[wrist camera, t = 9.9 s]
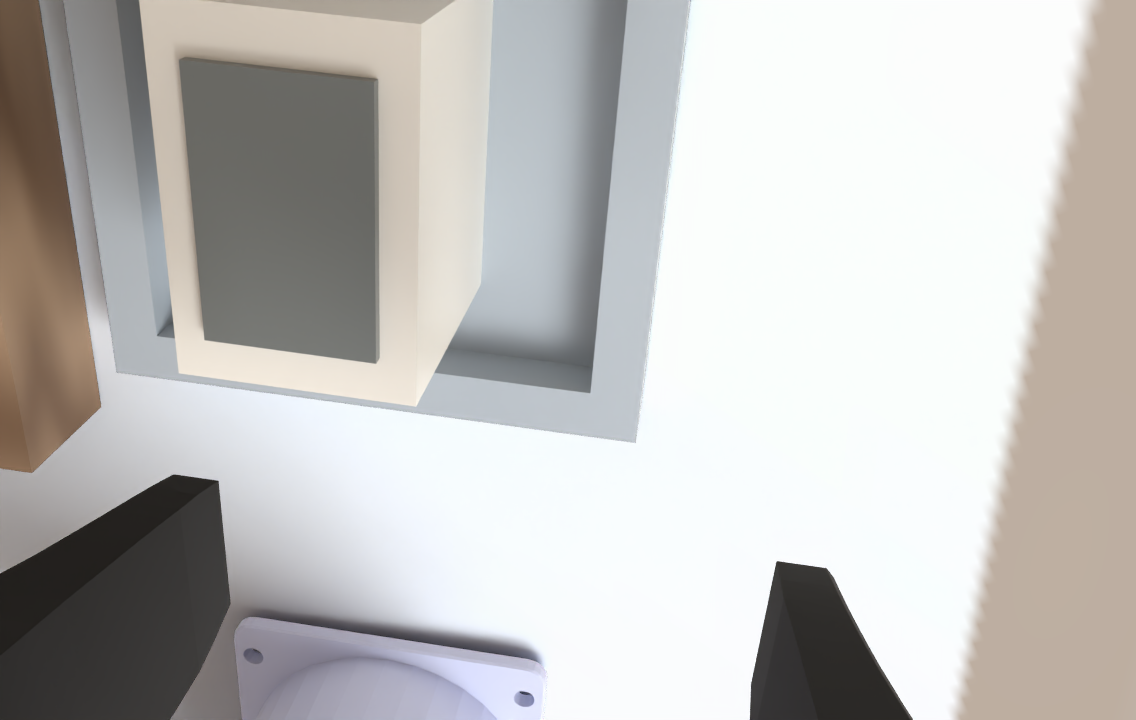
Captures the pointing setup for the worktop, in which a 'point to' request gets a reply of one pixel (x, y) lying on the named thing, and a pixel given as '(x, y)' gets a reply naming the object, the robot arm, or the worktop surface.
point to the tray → (511, 211)
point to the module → (320, 185)
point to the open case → (37, 260)
